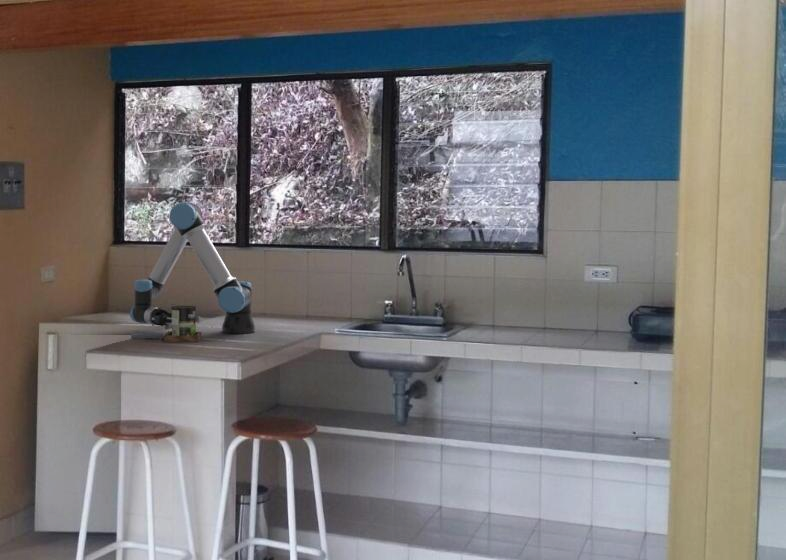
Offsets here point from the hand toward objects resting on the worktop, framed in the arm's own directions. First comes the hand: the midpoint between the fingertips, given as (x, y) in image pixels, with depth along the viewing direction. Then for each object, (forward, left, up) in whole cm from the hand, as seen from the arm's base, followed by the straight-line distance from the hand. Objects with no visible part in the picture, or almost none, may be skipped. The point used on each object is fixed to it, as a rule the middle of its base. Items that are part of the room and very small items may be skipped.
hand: (188, 320), depth 389 cm
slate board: (+18, -11, -8) cm, 23 cm away
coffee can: (+2, -3, -9) cm, 9 cm away
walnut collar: (+3, -3, -8) cm, 9 cm away
